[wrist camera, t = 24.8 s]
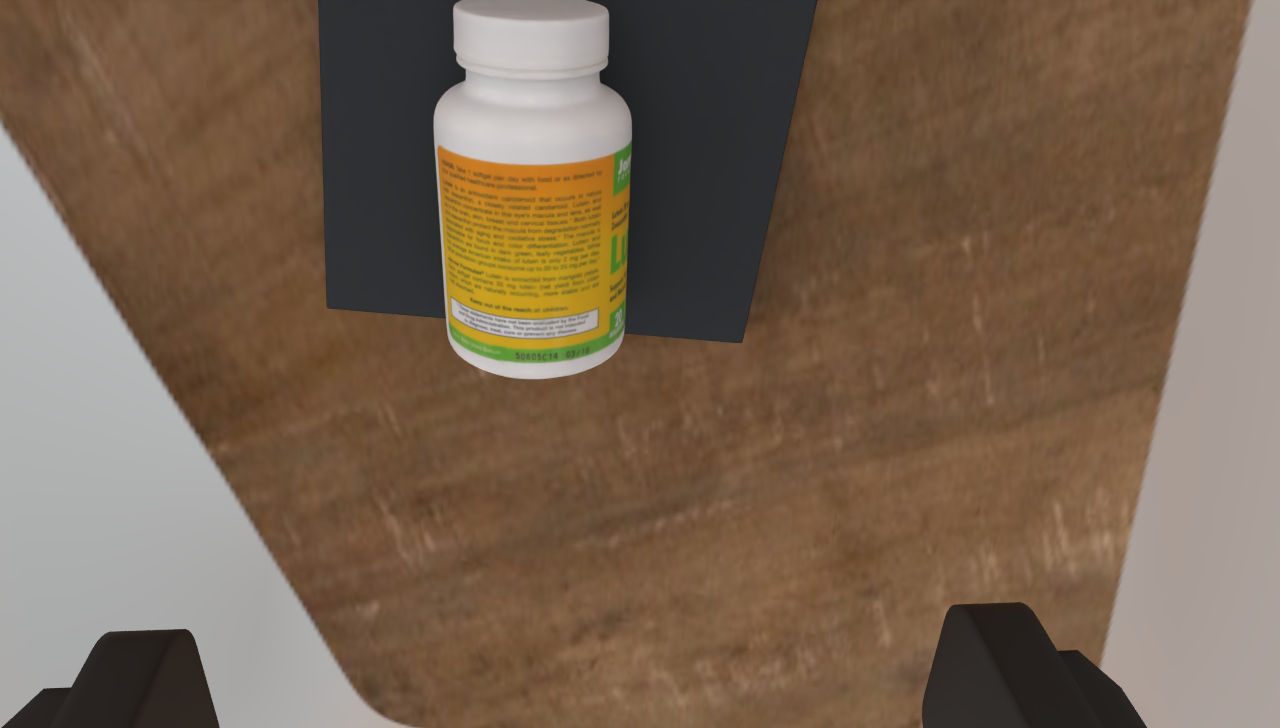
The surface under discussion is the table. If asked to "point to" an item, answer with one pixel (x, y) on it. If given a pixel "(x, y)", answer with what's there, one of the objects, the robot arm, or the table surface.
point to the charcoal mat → (660, 155)
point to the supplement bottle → (533, 189)
